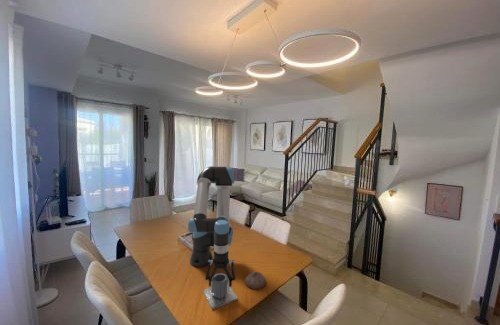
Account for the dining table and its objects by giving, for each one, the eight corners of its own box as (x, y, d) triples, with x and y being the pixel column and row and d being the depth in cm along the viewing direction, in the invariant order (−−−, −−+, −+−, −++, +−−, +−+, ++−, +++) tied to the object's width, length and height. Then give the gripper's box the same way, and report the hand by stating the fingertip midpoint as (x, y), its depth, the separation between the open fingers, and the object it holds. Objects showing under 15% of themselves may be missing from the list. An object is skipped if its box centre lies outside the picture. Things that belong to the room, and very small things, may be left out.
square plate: (203, 291, 112) (203, 281, 111) (226, 283, 119) (227, 273, 118) (212, 309, 100) (212, 298, 99) (237, 299, 107) (238, 288, 106)
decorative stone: (242, 287, 117) (242, 278, 116) (248, 274, 128) (249, 266, 127) (262, 292, 113) (262, 283, 113) (267, 278, 124) (267, 270, 124)
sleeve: (211, 297, 105) (211, 282, 105) (213, 286, 113) (214, 273, 112) (226, 297, 105) (227, 282, 105) (228, 287, 113) (228, 273, 112)
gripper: (199, 253, 103) (198, 296, 105) (241, 255, 103) (239, 297, 105) (202, 246, 111) (202, 285, 113) (241, 247, 111) (240, 287, 113)
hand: (220, 291), depth 109 cm, fingers closed on sleeve, 8 cm apart
